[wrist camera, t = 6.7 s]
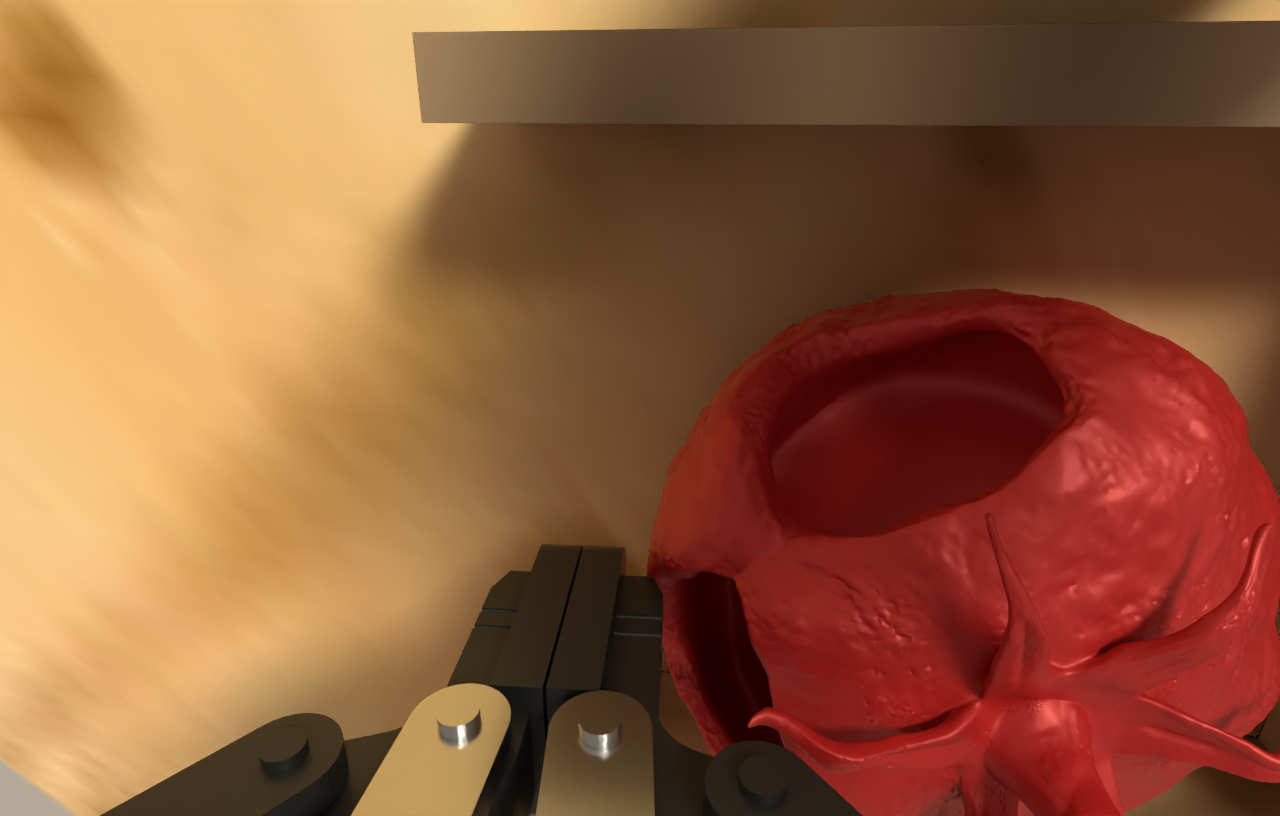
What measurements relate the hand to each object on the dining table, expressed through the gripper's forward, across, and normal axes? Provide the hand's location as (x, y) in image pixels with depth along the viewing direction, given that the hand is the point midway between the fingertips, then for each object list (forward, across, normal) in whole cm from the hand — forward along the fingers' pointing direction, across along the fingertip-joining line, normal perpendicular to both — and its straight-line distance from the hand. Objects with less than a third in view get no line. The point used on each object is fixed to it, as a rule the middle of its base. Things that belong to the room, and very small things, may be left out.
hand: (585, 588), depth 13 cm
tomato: (+4, -6, 0) cm, 7 cm away
